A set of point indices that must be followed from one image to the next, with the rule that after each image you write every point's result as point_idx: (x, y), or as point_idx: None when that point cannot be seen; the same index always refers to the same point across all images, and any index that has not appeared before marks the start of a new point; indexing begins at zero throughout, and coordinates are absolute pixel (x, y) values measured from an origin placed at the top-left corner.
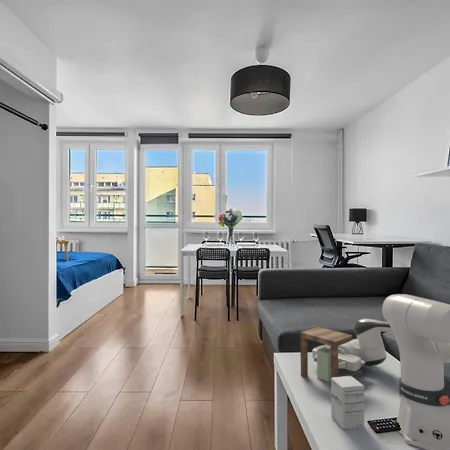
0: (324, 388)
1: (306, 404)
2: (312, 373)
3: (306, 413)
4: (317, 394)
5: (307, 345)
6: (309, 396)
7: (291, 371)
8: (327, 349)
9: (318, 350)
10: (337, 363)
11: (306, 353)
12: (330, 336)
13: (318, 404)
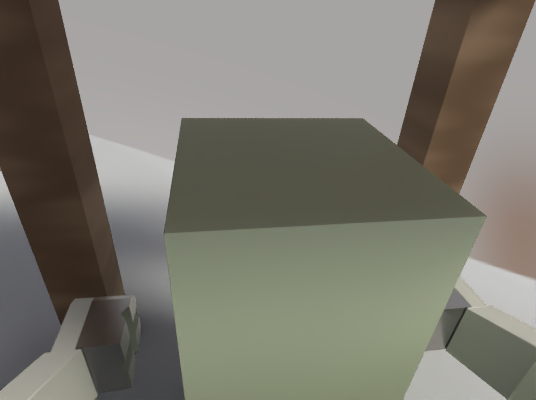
0: (156, 275)
1: (140, 164)
2: (411, 388)
3: (110, 144)
4: (149, 217)
5: (453, 64)
6: (167, 192)
7: (477, 288)
8: (317, 179)
9: (339, 119)
10: (7, 155)
11: (415, 145)
12: None
13: (101, 180)
